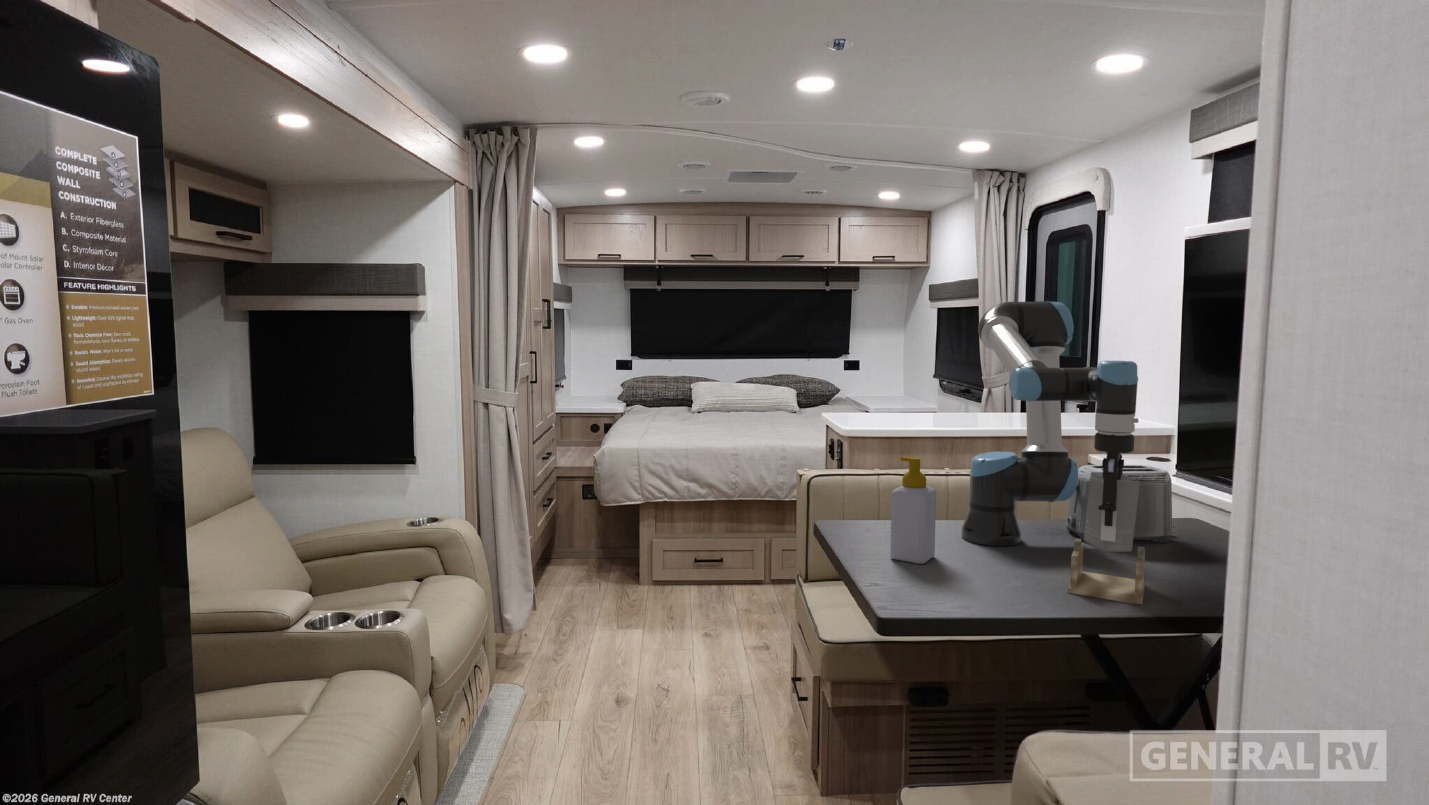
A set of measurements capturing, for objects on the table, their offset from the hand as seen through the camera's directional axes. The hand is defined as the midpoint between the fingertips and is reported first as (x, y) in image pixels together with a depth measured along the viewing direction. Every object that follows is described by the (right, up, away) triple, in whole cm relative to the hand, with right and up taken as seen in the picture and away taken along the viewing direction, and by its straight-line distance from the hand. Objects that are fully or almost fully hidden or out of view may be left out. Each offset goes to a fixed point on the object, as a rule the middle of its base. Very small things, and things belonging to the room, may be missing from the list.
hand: (1109, 534), depth 163 cm
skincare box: (0, -3, 0) cm, 3 cm away
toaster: (+26, -8, +42) cm, 50 cm away
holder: (0, -12, +1) cm, 12 cm away
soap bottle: (-37, -10, +24) cm, 45 cm away
